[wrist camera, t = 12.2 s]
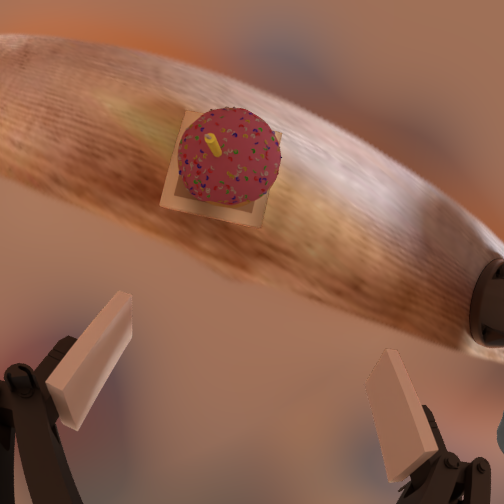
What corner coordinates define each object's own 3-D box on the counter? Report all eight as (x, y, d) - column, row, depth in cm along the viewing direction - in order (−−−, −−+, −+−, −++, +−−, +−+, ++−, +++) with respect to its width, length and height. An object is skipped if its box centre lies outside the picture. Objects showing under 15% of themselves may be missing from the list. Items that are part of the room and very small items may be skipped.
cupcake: (202, 226, 28) (200, 219, 16) (167, 147, 27) (145, 92, 15) (283, 190, 29) (333, 162, 17) (247, 115, 28) (273, 49, 16)
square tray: (276, 140, 31) (282, 132, 29) (256, 228, 32) (261, 228, 29) (187, 119, 30) (185, 109, 27) (162, 207, 30) (158, 205, 27)
